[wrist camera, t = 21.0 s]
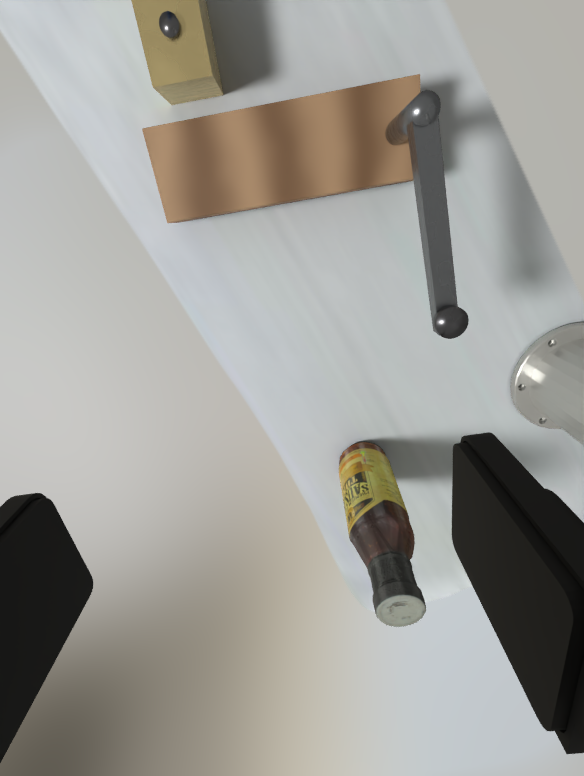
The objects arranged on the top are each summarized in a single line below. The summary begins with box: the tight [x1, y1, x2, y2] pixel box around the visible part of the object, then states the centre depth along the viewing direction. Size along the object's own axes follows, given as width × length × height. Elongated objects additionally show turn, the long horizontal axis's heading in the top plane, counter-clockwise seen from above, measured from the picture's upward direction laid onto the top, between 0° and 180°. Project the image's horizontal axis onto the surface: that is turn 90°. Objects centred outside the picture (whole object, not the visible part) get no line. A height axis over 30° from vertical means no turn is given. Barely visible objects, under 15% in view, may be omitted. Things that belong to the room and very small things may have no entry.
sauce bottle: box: [339, 442, 426, 627], centre depth 39 cm, size 7×6×20 cm
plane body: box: [142, 74, 420, 223], centre depth 33 cm, size 23×7×4 cm, turn 99°
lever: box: [385, 90, 468, 339], centre depth 30 cm, size 16×2×8 cm, turn 16°
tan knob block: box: [132, 0, 223, 105], centre depth 29 cm, size 5×6×5 cm
